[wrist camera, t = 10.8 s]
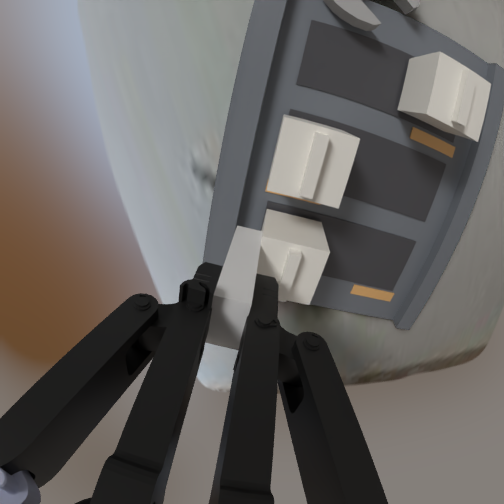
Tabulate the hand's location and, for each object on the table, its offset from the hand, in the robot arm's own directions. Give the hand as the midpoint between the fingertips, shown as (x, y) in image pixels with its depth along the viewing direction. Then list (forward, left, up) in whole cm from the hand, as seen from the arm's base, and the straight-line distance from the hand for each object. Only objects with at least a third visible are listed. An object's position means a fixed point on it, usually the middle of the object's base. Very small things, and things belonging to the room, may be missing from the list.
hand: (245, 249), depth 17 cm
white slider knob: (-6, +2, -2) cm, 7 cm away
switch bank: (-6, +6, -4) cm, 9 cm away
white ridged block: (0, +3, -2) cm, 3 cm away
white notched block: (-12, +9, -2) cm, 15 cm away
